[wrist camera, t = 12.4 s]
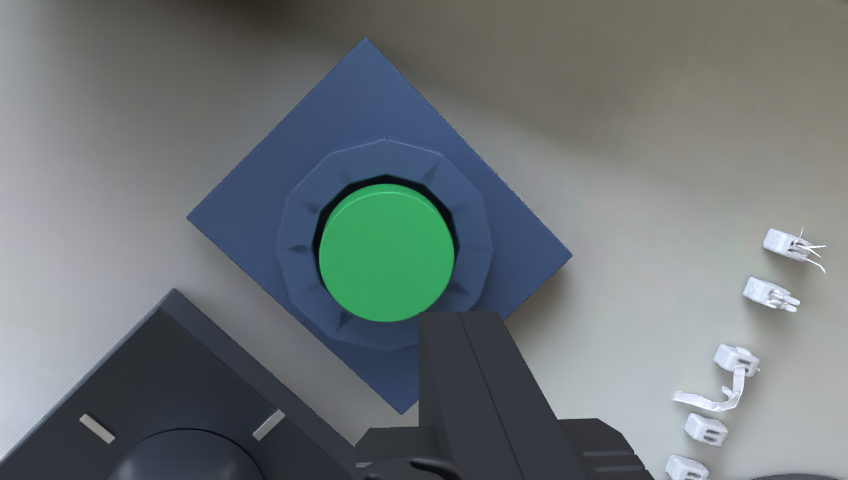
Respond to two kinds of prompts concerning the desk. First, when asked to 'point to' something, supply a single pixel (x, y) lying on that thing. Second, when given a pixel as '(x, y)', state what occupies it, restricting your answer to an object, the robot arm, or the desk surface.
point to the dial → (186, 459)
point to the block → (357, 168)
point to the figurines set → (737, 359)
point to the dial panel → (178, 407)
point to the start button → (386, 253)
